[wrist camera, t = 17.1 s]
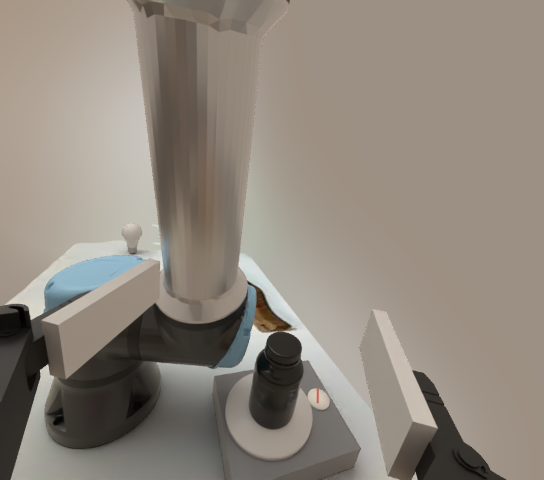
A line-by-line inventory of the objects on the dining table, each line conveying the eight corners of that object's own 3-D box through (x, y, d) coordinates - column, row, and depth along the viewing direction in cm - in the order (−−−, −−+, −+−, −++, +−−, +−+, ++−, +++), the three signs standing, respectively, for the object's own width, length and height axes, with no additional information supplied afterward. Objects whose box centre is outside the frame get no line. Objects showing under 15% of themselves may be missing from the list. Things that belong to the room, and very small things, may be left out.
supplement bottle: (286, 386, 42) (300, 326, 38) (299, 428, 36) (317, 362, 32) (245, 389, 40) (255, 326, 36) (251, 434, 34) (264, 365, 30)
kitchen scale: (230, 513, 30) (234, 486, 28) (212, 394, 44) (214, 371, 42) (353, 467, 37) (362, 443, 35) (304, 376, 51) (309, 356, 49)
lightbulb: (119, 252, 89) (117, 222, 86) (136, 248, 94) (135, 220, 90) (128, 258, 86) (127, 227, 82) (145, 254, 91) (145, 224, 87)
